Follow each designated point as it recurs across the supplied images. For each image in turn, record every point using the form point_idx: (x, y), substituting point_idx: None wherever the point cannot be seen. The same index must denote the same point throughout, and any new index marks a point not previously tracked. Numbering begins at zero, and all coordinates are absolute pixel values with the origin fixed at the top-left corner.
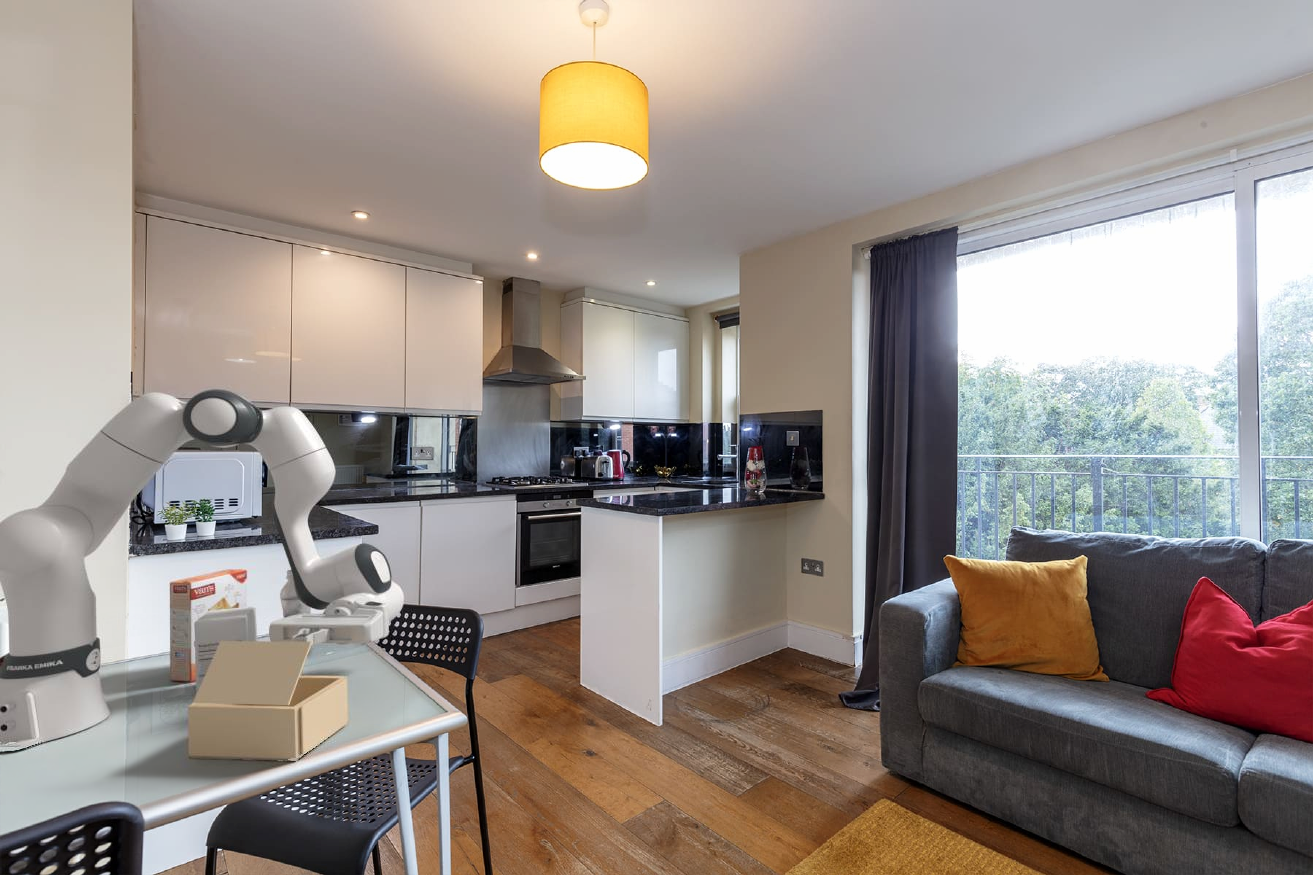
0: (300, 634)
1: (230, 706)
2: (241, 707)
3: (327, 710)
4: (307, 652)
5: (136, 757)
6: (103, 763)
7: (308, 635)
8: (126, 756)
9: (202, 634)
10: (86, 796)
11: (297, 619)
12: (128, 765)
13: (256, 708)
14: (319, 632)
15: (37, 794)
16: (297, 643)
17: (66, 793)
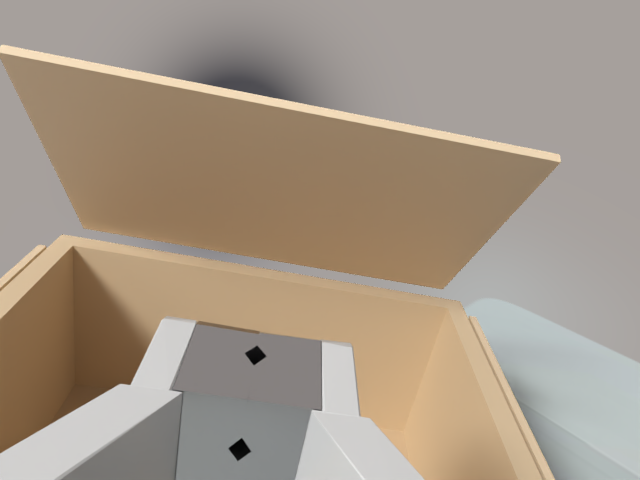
0: (309, 387)
1: (311, 279)
2: (265, 269)
3: None
4: (21, 92)
5: (569, 447)
6: (610, 428)
7: (175, 343)
8: (604, 455)
9: None
10: None
11: None
12: (533, 413)
13: (207, 259)
14: (52, 429)
15: (562, 342)
16: (88, 70)
17: (513, 338)
